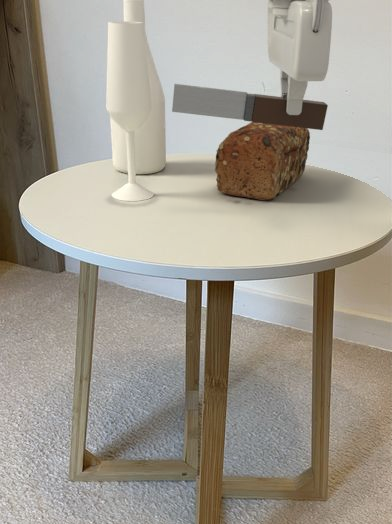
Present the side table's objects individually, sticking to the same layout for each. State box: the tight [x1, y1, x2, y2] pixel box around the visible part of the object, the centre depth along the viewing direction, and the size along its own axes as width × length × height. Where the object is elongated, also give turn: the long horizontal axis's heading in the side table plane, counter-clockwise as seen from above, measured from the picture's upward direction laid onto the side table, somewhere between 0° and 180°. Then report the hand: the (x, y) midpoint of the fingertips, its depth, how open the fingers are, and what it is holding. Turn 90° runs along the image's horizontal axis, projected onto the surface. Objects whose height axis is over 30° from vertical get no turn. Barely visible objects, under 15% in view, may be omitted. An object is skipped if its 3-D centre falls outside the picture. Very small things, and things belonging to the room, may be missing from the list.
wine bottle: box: [109, 0, 167, 175], centre depth 101 cm, size 10×10×30 cm
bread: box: [214, 121, 311, 201], centre depth 98 cm, size 19×11×10 cm, turn 155°
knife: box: [171, 83, 329, 131], centre depth 75 cm, size 19×2×3 cm, turn 92°
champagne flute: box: [105, 20, 155, 202], centre depth 89 cm, size 7×7×24 cm
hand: (290, 111), depth 75 cm, fingers closed on knife, 2 cm apart
